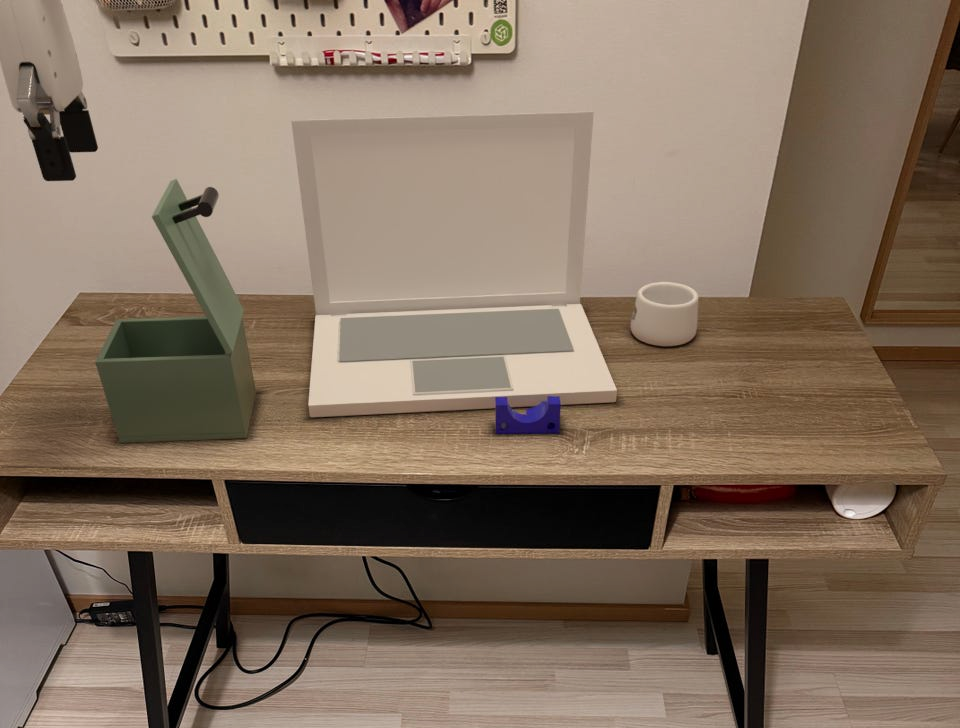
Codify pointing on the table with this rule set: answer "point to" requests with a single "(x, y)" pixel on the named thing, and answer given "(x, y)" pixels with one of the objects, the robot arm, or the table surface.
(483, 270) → the laptop
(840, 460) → the table surface
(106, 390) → the bin
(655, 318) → the mug
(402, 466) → the table surface
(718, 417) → the table surface
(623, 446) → the table surface
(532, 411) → the cable holder
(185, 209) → the bin lid
